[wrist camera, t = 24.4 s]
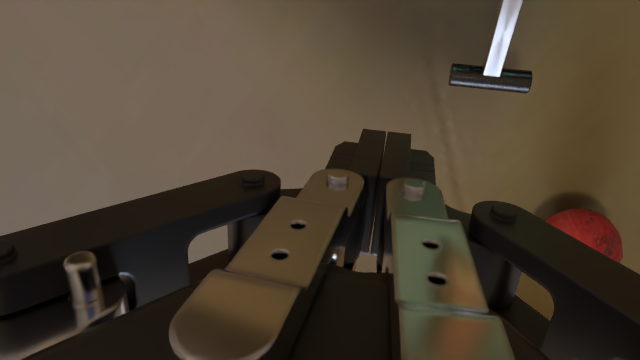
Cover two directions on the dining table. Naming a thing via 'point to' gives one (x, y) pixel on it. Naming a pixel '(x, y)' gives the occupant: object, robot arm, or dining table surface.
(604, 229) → the red rounded lump
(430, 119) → the dining table surface
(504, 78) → the lever
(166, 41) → the dining table surface
